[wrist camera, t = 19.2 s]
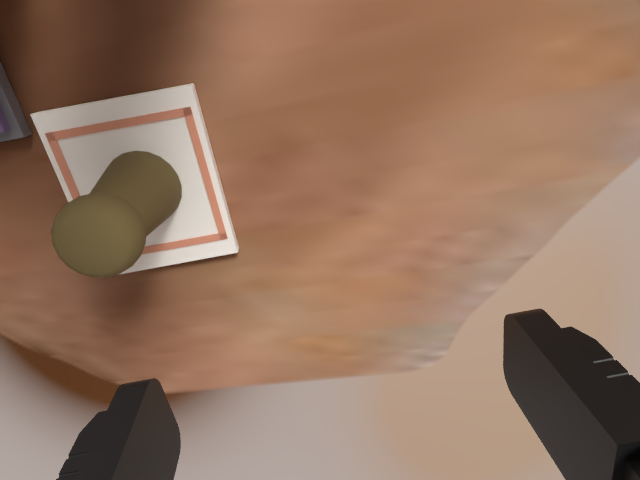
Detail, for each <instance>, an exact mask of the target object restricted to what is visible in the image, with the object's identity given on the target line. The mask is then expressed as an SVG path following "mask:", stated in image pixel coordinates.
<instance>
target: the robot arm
mask: <svg viewBox="0 0 640 480" xmlns="http://www.w3.org/2000/svg"><path fill="white" fill-rule="evenodd" d="M503 358H504V361H503V366H504V367H503V368H504V374H505V379H506V382H507V385H508V388H509V390H510V392H511V394H512V396H513V397H514V399H515V400H516V402H517V404H518V405H519V407H520V408H521V410H522V412H523V413H524V415H525V416H526V418H527V419H528V421H529V423H530V424H531V426H532V427H533V429H534V430H535V432H536V434H537V435H538V437H539V438H540V440H541V442H542V443H543V445H544V446H545V448H546V449H547V451H548V453H549V454H550V456H551V457H552V459H553V460H554V462H555V464H556V465H557V467H558V468H559V470H560V471H561V473H562V475H563V476H564V478H565V479H566V480H640V383H639V382H638V381H637V380H636V379H635V378H634V377H633V376H632V375H629V374H628V371H627V370H626V369H625V368H624V367H623V366H622V365H621V364H620V363H619V362H618V361H617V360H614V359H613V356H612V355H611V354H610V353H609V352H608V351H607V350H605V348H604V347H603V346H602V345H601V344H599V342H598V341H597V340H595V339H593V338H592V337H590V336H588V335H586V334H584V333H582V332H580V331H579V330H577V329H575V328H573V327H566V328H560V326H559V325H558V324H557V323H556V322H555V321H554V320H553V319H552V318H551V317H550V316H549V315H548V314H547V313H546V312H545V311H544V310H542V309H535V310H529V311H524V312H518V313H513V314H508V315H506V316H505V319H504V355H503ZM179 454H180V432H179V427H178V424H177V422H176V420H175V417H174V415H173V412H172V410H171V408H170V405H169V403H168V400H167V398H166V396H165V393H164V391H163V388H162V386H161V384H160V382H159V381H158V380H157V379H155V378H153V379H148V380H142V381H137V382H131V383H126V384H122V385H120V386H119V387H118V389H117V391H116V393H115V395H114V397H113V399H112V401H111V404H110V406H109V408H108V410H107V411H103V412H99V413H97V414H96V416H95V417H94V418H93V419H92V420H91V421H90V422H89V423H88V424H87V425H86V427H85V428H84V429H83V430H82V431H81V432H80V433H79V435H78V437H77V439H76V441H75V443H74V446H73V447H72V449H71V451H70V453H69V459H67V460H66V461H65V463H64V465H63V467H62V469H61V471H60V473H59V478H58V479H56V480H173V479H174V475H175V471H176V467H177V463H178V459H179Z"/></svg>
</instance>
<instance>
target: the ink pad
mask: <svg viewBox="0 0 640 480" xmlns="http://www.w3.org/2000/svg"><path fill="white" fill-rule="evenodd" d="M29 135H32V132H31V130H30V127H29V125H28V123H27V121H26V118H25V116H24V114H23V112H22V109H21V107H20V105H19V102H18V100H17V98H16V96H15V93H14V91H13V89H12V87H11V84H10V82H9V80H8V78H7V75H6V73H5V71H4V68H3V66H2V64H1V62H0V142H2V141H8V140H13V139H19V138H24V137H27V136H29Z"/></svg>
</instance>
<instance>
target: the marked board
mask: <svg viewBox="0 0 640 480" xmlns="http://www.w3.org/2000/svg"><path fill="white" fill-rule="evenodd" d="M30 115H31V118H32V120H33V122H34V124H35V127H36V129H37V131H38V134H39V136H40V138H41V141H42V143H43V145H44V147H45V150H46V152H47V154H48V157H49V159H50V161H51V164H52V166H53V168H54V170H55V173H56V175H57V177H58V180H59V182H60V184H61V187H62V189H63V191H64V193H65V196H66V198H67V200H68V203H69V202H70V201H72V200H74V199H75V198H77V197H78V196H83V195H87V194H89V193H90V192H91V190H92V189H93V188H94V186H95V185H96V183H97V182H98V180H99V179H100V177H101V176H102V174H103V173H104V171H105V170H106V168H107V167H108V166H109V164H110V163H111V162H112V160H113V159H115V158H116V157H118V156H119V155H121V154H123V153H126V152H131V151H145V152H150V153H152V154H155V155H157V156H160V157H161V158H163V159H164V160H165V161H166V162H168V163H169V164H170V165H171V166H172V167H173V169H174V170H175V172H176V173H177V174H178V177H179V180H180V182H181V185H182V198H181V201H180V203H179V206H178V208H177V209H176V210H175V212H174V213H173V214H172V215H171V216H170V217H169V218H168V219H166V220H165V221H164V222H163V223H162V224H161V225H159V226H158V227H157V228H156V229H155V230H154V231H152V232H151V233H150V234H149V235H148V236H147V237H146V244H145V247H144V249H143V252H142V254H141V256H140V258H139V259H138V260H137V261H136V262H135V264H134V265H133V266H132V267H130V268H129V269H127V270H125V271H124V272H122V273H120V274H125V273H130V272H135V271H141V270H146V269H152V268H157V267H163V266H168V265H173V264H179V263H184V262H190V261H195V260H201V259H206V258H211V257H217V256H222V255H228V254H233V253H238V249H239V246H238V243H237V239H236V235H235V232H234V228H233V224H232V221H231V217H230V213H229V210H228V206H227V202H226V199H225V195H224V192H223V188H222V184H221V181H220V177H219V173H218V170H217V166H216V162H215V159H214V155H213V151H212V148H211V144H210V140H209V137H208V133H207V129H206V126H205V122H204V118H203V115H202V111H201V107H200V104H199V100H198V96H197V93H196V89H195V85H194V83H191V84H185V85H180V86H175V87H169V88H164V89H158V90H153V91H148V92H142V93H137V94H131V95H126V96H121V97H115V98H110V99H104V100H99V101H93V102H88V103H83V104H77V105H72V106H66V107H61V108H56V109H50V110H45V111H39V112H35V113H32V114H30ZM118 275H119V274H118ZM101 278H103V277H101Z"/></svg>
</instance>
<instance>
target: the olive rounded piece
mask: <svg viewBox="0 0 640 480" xmlns="http://www.w3.org/2000/svg"><path fill="white" fill-rule="evenodd" d="M181 198H182V185H181V182H180V180H179V177H178V174H177V173H176V172H175V170H174V169H173V167H172V166H171V165H170V164H169V163H168V162H166V161H165V160H164V159H163V158H161V157H160V156H157V155H155V154H152V153H150V152H145V151H131V152H126V153H123V154H121V155H119V156H118V157H116V158H115V159H113V160H112V162H111V163H110V164H109V166H108V167H107V168H106V170H105V171H104V173H103V174H102V176H101V177H100V179H99V180H98V182H97V183H96V185H95V186H94V188H93V189H92V190H91V192H90V193H89V194H87V195H83V196H78V197H77V198H75V199H74V200H72V201H70V202H69V203H67V204H66V205H64V206H63V207H62V209H61V210H60V211H59V213H58V214H57V215H56V217H55V220H54V223H53V227H52V231H51V234H52V242H53V246H54V248H55V250H56V252H57V254H58V256H59V258H60V259H61V260H62V261H63V262H64V263H65V264H66V265H67V266H68V267H70V268H71V269H73V270H74V271H76V272H78V273H81V274H84V275H87V276H90V277H110V276H115V275H118V274H120V273H122V272H124V271H125V270H127V269H129V268H130V267H132V266H133V265H134V264H135V262H136V261H137V260H138V259H139V258H140V256H141V254H142V252H143V249H144V247H145V244H146V237H147V236H148V235H149V234H150V233H151V232H152V231H154V230H155V229H156V228H157V227H158V226H159V225H161V224H162V223H163V222H164V221H165V220H166V219H168V218H169V217H170V216H171V215H172V214H173V213H174V212H175V210H176V209H177V208H178V206H179V203H180V201H181Z"/></svg>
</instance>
